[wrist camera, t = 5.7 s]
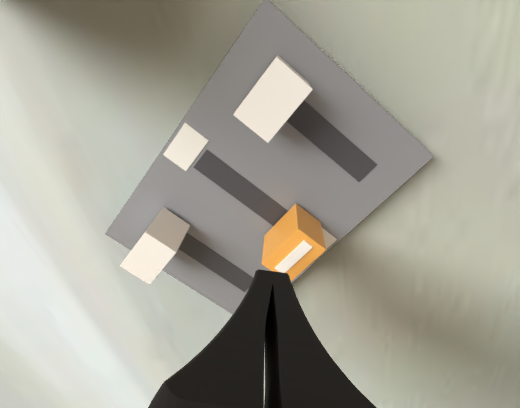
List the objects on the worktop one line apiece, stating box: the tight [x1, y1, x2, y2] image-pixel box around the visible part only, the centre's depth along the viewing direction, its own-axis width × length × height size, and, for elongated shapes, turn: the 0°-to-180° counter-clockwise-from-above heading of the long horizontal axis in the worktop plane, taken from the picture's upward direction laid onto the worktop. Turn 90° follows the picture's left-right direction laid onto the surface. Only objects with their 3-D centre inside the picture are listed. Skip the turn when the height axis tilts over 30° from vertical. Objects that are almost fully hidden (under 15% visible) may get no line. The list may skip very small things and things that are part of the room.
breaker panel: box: [105, 0, 434, 314], centre depth 19 cm, size 12×17×4 cm
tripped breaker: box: [262, 203, 326, 281], centre depth 19 cm, size 2×3×3 cm, turn 141°
